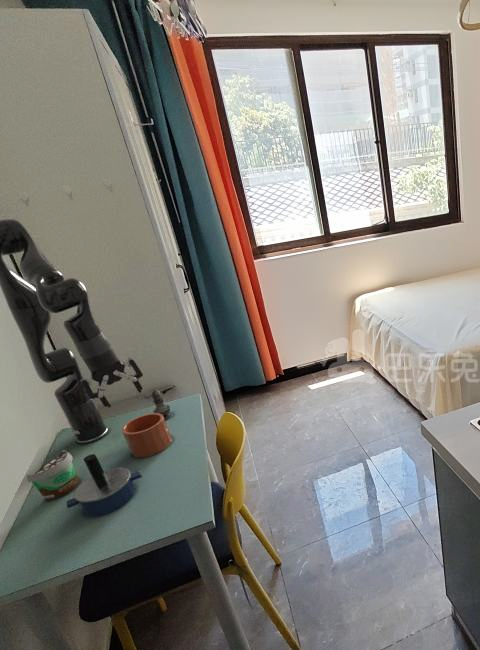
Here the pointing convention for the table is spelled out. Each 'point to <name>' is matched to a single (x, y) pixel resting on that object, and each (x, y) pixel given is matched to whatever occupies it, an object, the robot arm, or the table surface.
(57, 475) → the food container
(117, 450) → the table surface
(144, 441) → the pot
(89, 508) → the pan
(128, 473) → the lid
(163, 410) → the grey upright piece
